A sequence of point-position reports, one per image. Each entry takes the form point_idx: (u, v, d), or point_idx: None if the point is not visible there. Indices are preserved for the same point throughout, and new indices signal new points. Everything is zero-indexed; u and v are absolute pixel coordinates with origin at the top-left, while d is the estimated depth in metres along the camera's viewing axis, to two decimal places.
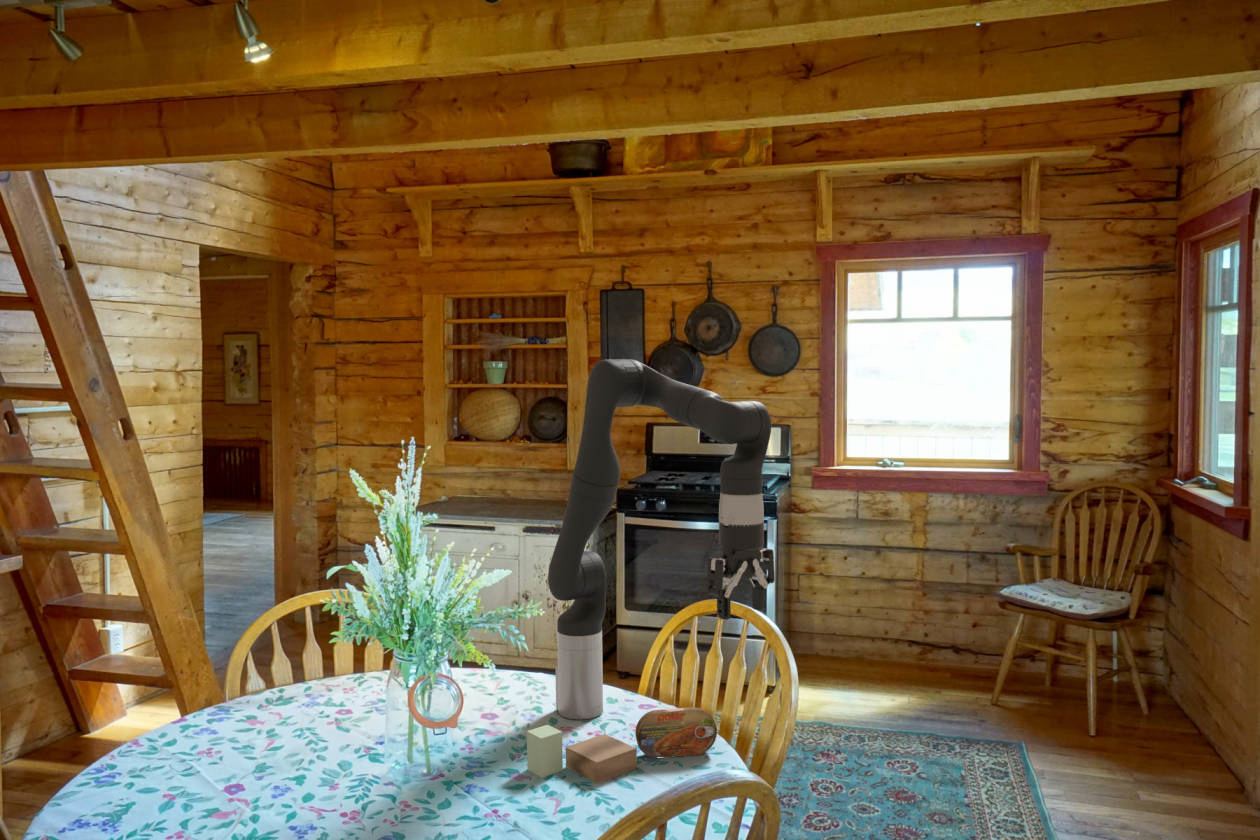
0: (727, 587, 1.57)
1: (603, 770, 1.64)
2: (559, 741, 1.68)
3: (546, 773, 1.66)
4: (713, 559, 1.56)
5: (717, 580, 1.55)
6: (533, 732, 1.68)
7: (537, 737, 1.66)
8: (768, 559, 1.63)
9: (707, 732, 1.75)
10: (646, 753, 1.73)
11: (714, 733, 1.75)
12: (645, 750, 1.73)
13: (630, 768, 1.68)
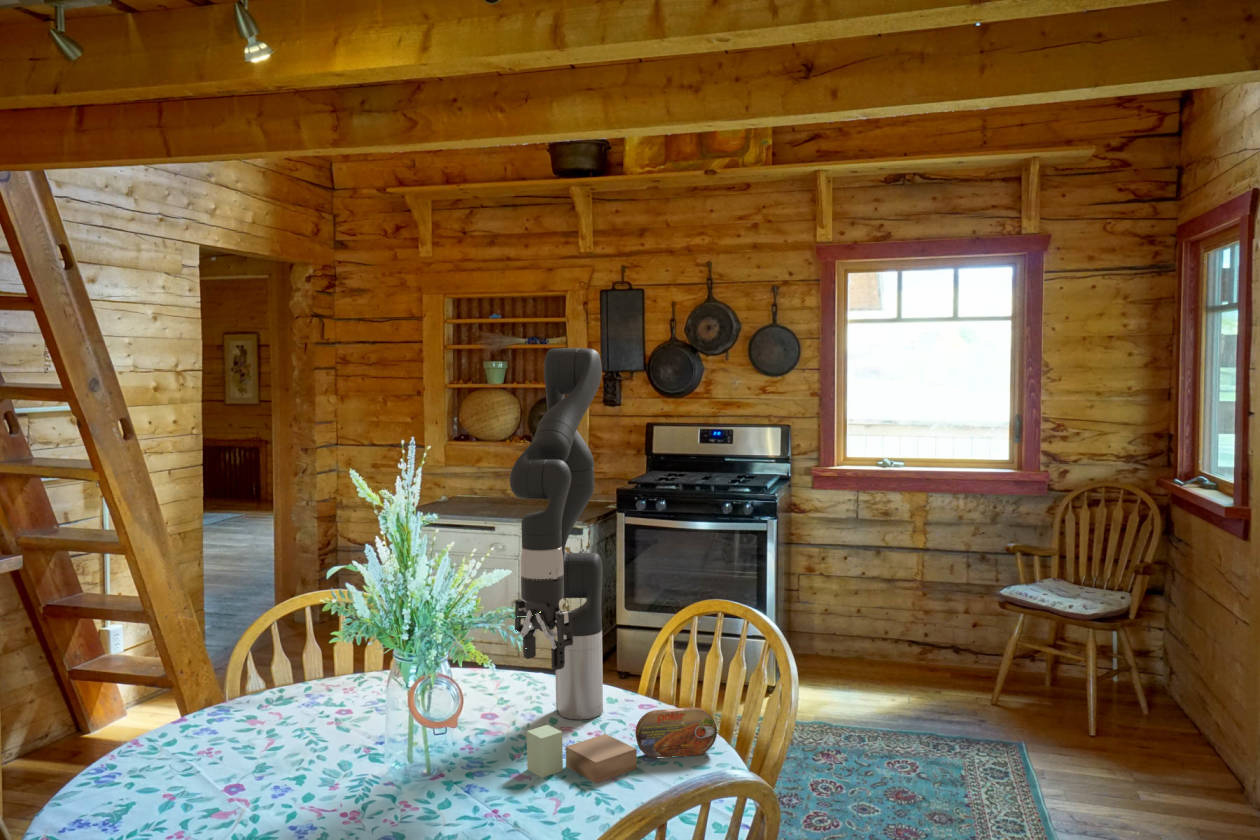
0: (563, 636, 1.65)
1: (603, 770, 1.64)
2: (559, 741, 1.68)
3: (546, 773, 1.66)
4: (564, 612, 1.62)
5: (572, 630, 1.63)
6: (533, 732, 1.68)
7: (537, 737, 1.66)
8: None
9: (707, 732, 1.75)
10: (646, 753, 1.73)
11: (714, 733, 1.75)
12: (645, 750, 1.73)
13: (630, 768, 1.68)
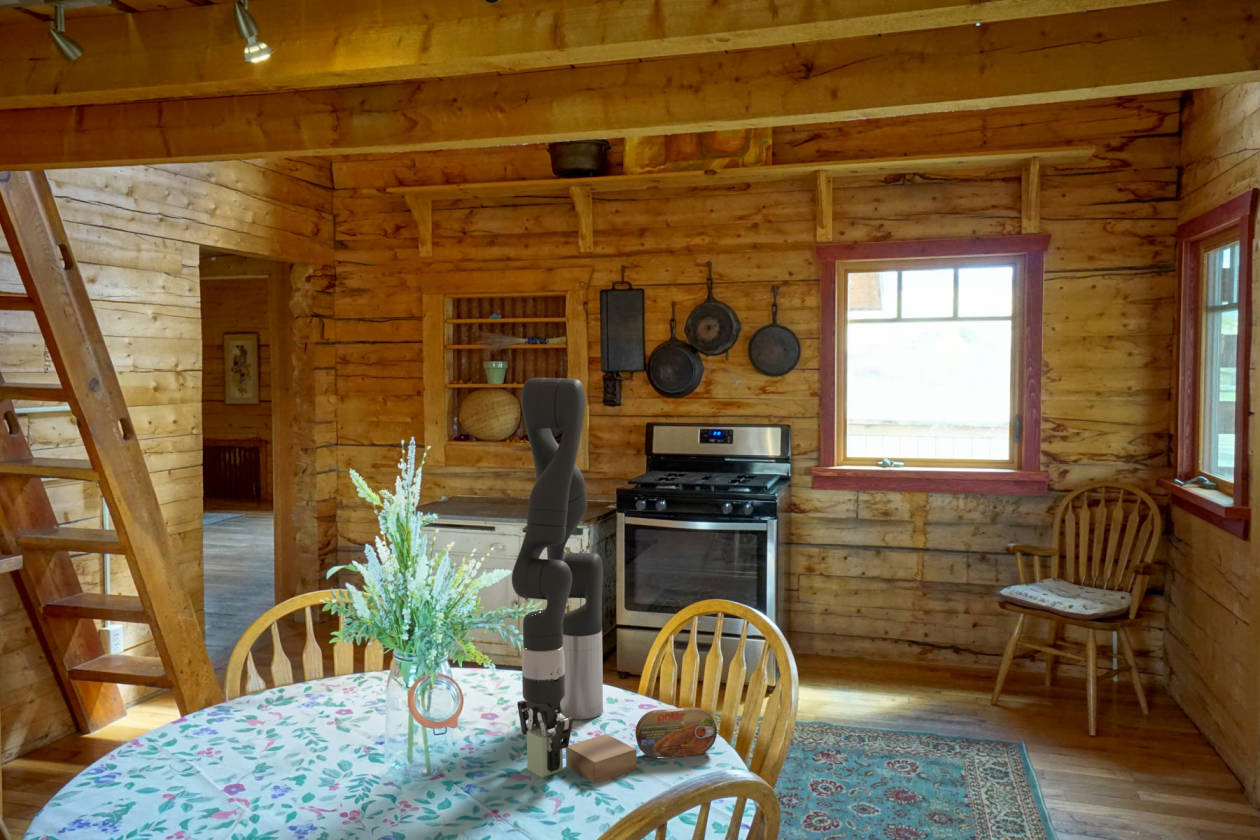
0: None
1: (602, 770, 1.64)
2: None
3: (546, 773, 1.66)
4: (565, 721, 1.63)
5: (569, 736, 1.65)
6: (533, 732, 1.68)
7: (537, 737, 1.66)
8: None
9: (707, 732, 1.75)
10: (646, 753, 1.73)
11: (714, 733, 1.75)
12: (645, 750, 1.73)
13: (630, 769, 1.68)
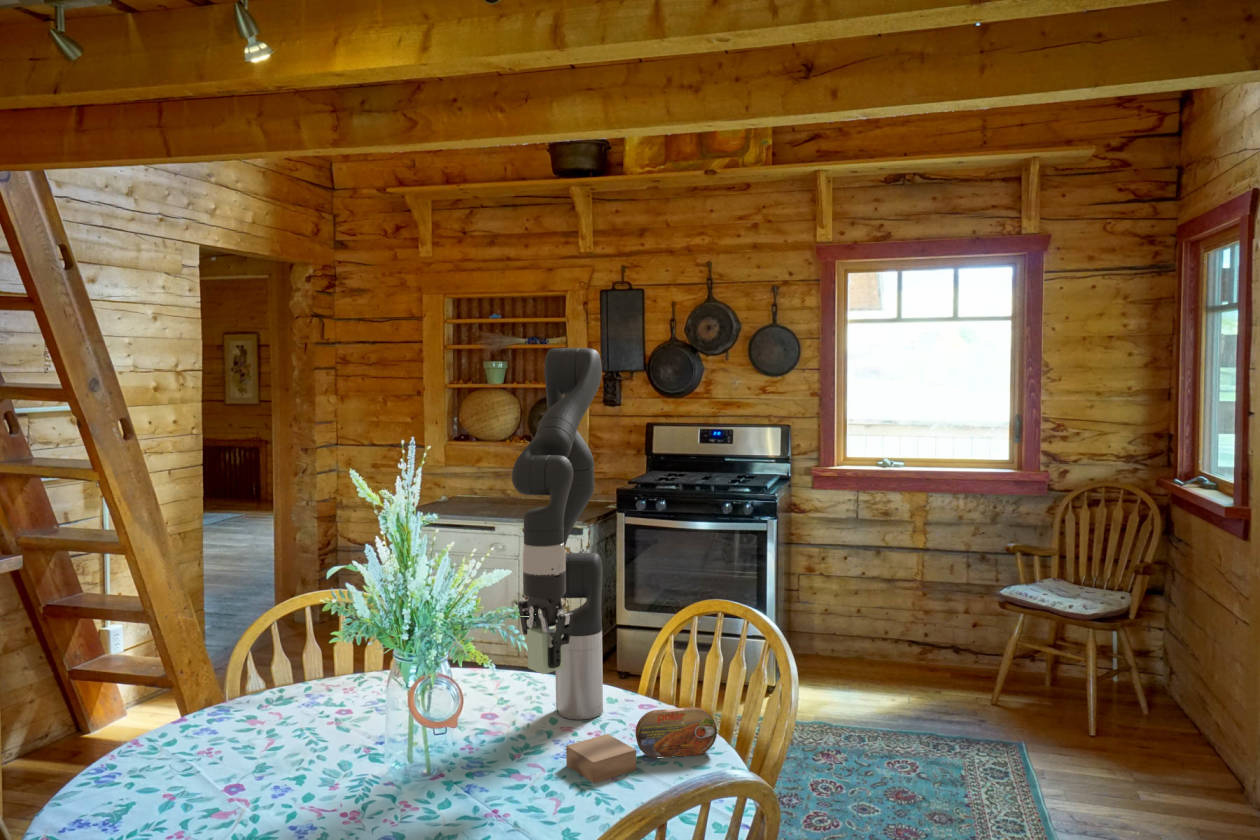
0: (561, 636, 1.66)
1: (600, 770, 1.64)
2: None
3: (547, 670, 1.65)
4: (566, 615, 1.62)
5: (570, 631, 1.64)
6: (534, 629, 1.67)
7: (538, 634, 1.65)
8: None
9: (707, 732, 1.75)
10: (646, 753, 1.73)
11: (714, 733, 1.75)
12: (645, 750, 1.73)
13: (629, 769, 1.67)
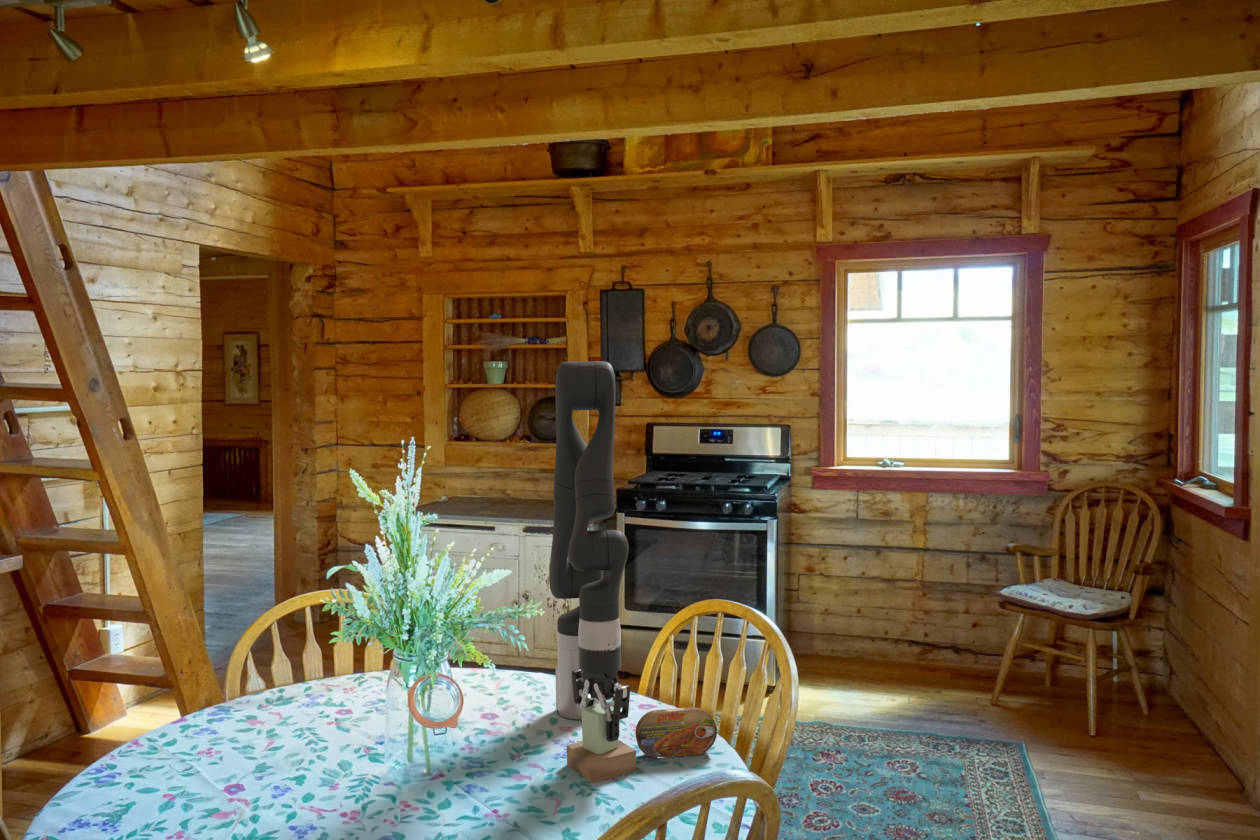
0: None
1: (599, 770, 1.64)
2: None
3: (603, 750, 1.67)
4: (623, 688, 1.63)
5: (628, 704, 1.65)
6: (589, 710, 1.68)
7: (593, 714, 1.67)
8: None
9: (707, 732, 1.75)
10: (646, 753, 1.73)
11: (714, 733, 1.75)
12: (645, 750, 1.73)
13: (629, 770, 1.67)
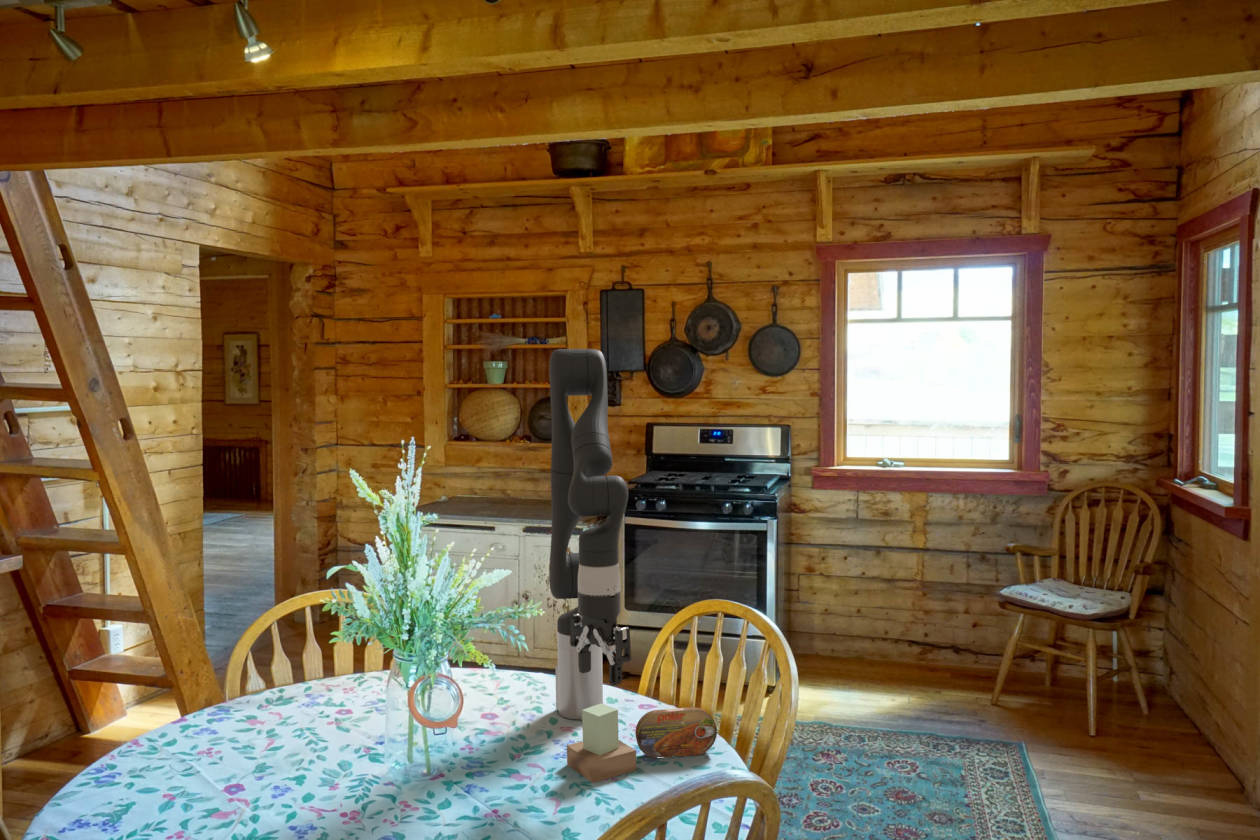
0: None
1: (599, 770, 1.64)
2: (615, 719, 1.68)
3: (603, 751, 1.67)
4: (622, 629, 1.63)
5: (630, 646, 1.63)
6: (589, 710, 1.68)
7: (594, 715, 1.66)
8: None
9: (707, 732, 1.75)
10: (646, 753, 1.73)
11: (714, 733, 1.75)
12: (645, 750, 1.73)
13: (629, 770, 1.67)
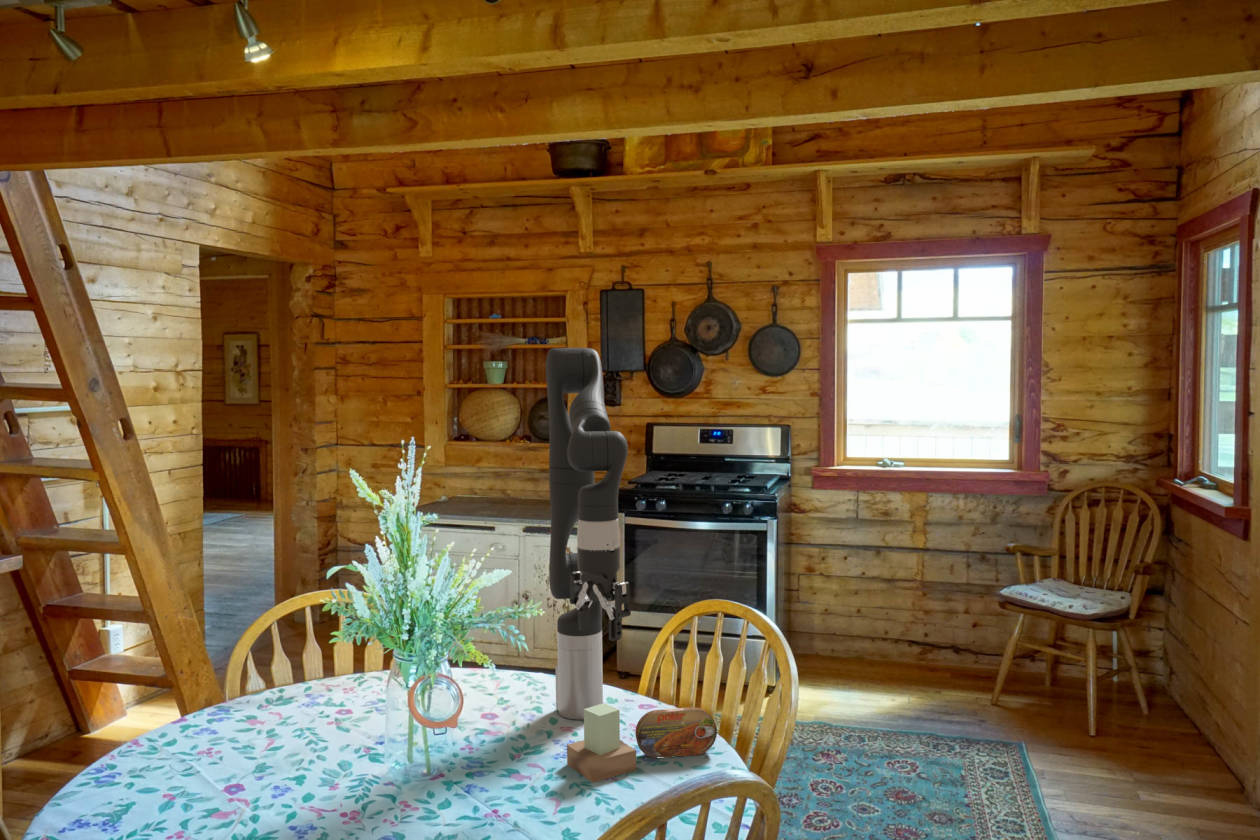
0: None
1: (600, 770, 1.64)
2: (616, 719, 1.68)
3: (604, 751, 1.67)
4: (622, 583, 1.62)
5: (629, 601, 1.63)
6: (591, 710, 1.68)
7: (595, 715, 1.66)
8: None
9: (707, 732, 1.75)
10: (646, 753, 1.73)
11: (714, 733, 1.75)
12: (645, 750, 1.73)
13: (629, 770, 1.67)
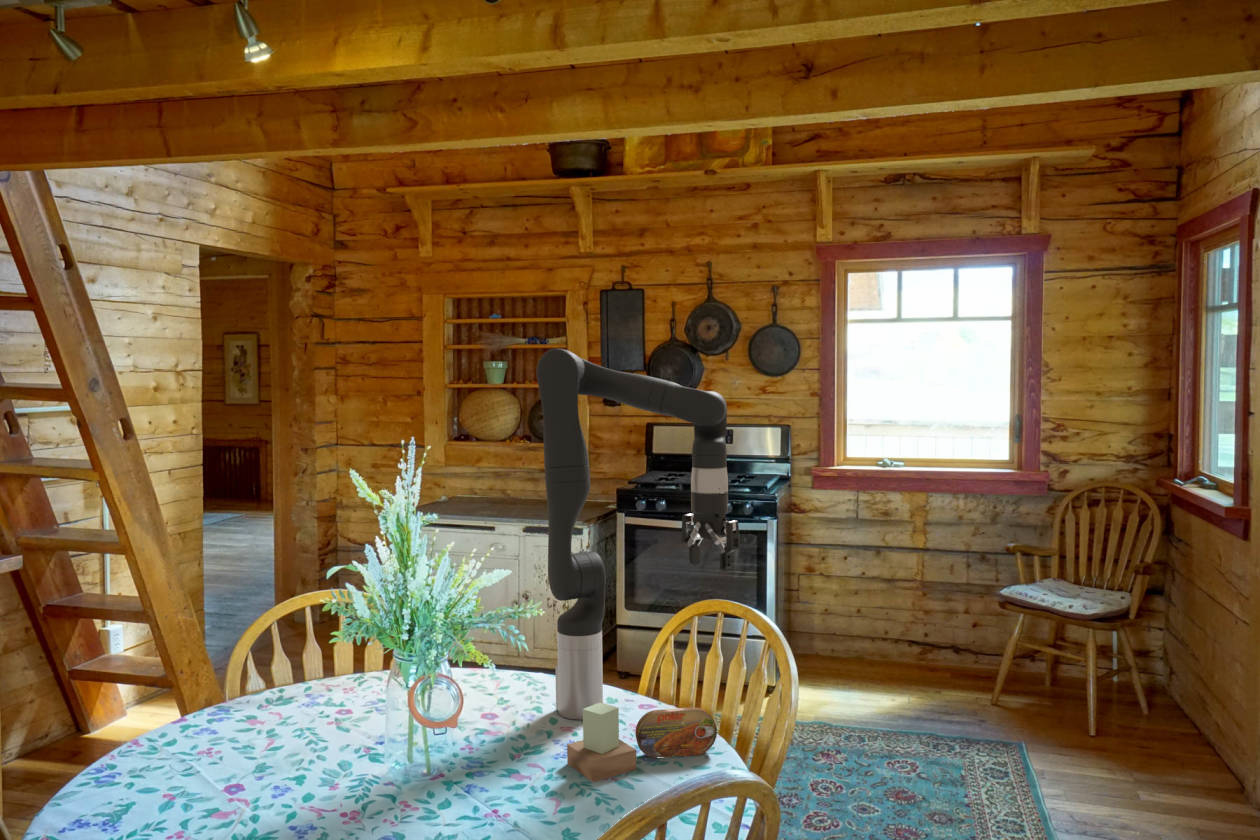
0: None
1: (600, 769, 1.64)
2: (616, 717, 1.69)
3: (605, 749, 1.67)
4: (732, 521, 1.89)
5: (738, 537, 1.89)
6: (590, 709, 1.69)
7: (596, 714, 1.67)
8: None
9: (707, 732, 1.75)
10: (646, 753, 1.73)
11: (714, 733, 1.75)
12: (645, 750, 1.73)
13: (629, 769, 1.68)
